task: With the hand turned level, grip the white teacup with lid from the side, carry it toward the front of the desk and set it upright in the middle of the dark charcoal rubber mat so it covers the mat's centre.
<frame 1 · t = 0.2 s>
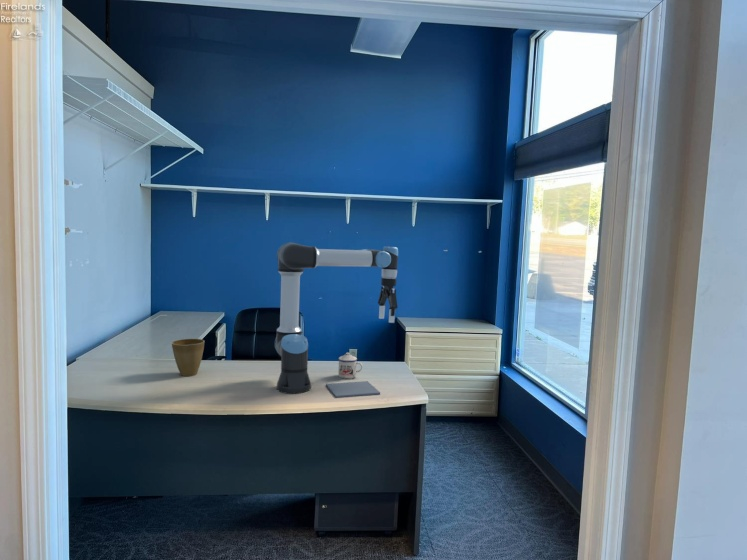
hand: (386, 320, 262), 27 cm above the table, tool pointing down, fingers open, 13 cm apart
charcoal mat: (352, 389, 237), on the table
plant pot: (188, 374, 254), on the table
teacup with lid: (350, 376, 258), on the table
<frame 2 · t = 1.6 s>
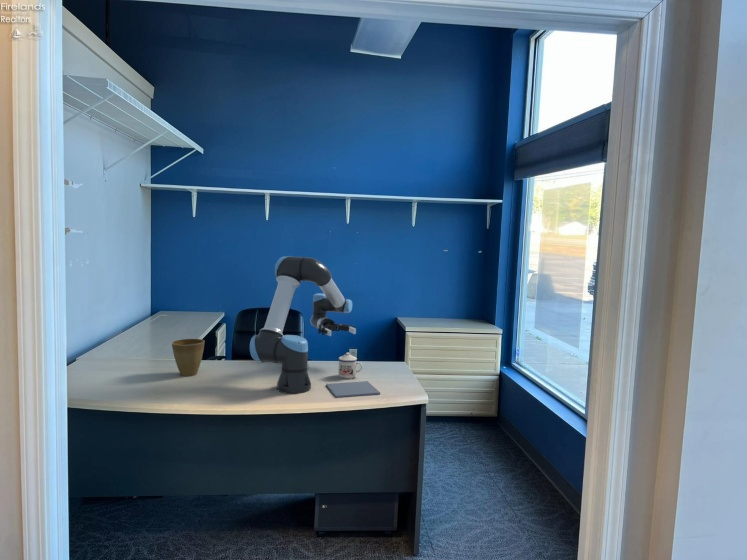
hand: (343, 332, 264), 20 cm above the table, tool horizontal, fingers open, 13 cm apart
nothing on the table moved.
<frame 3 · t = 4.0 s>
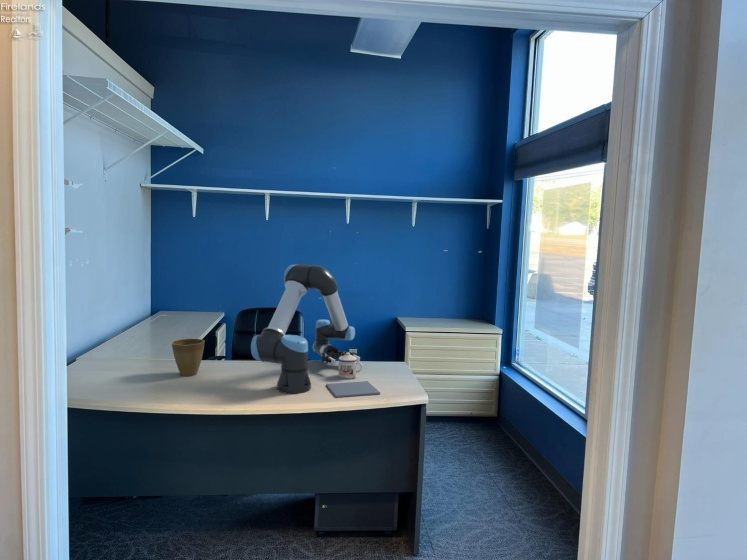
hand: (347, 361, 262), 6 cm above the table, tool horizontal, fingers open, 13 cm apart
nothing on the table moved.
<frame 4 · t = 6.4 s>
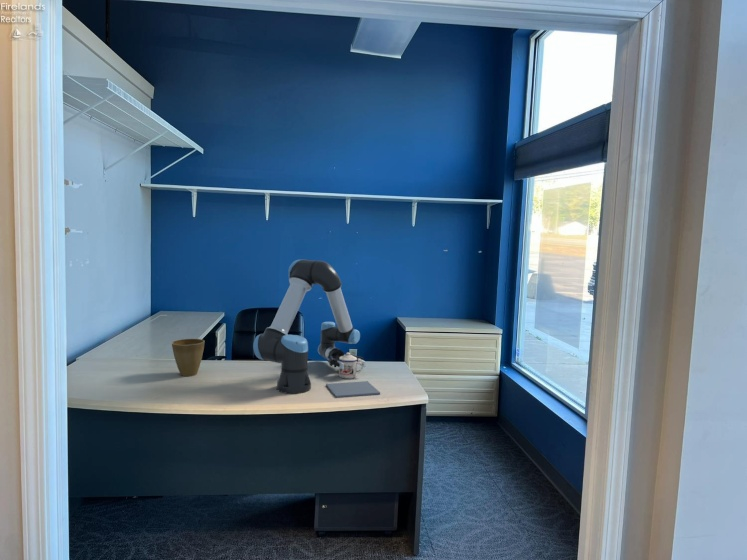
hand: (354, 365, 254), 7 cm above the table, tool horizontal, fingers closed on teacup with lid, 11 cm apart
teacup with lid: (350, 376, 258), on the table, touching gripper
everything else where it was.
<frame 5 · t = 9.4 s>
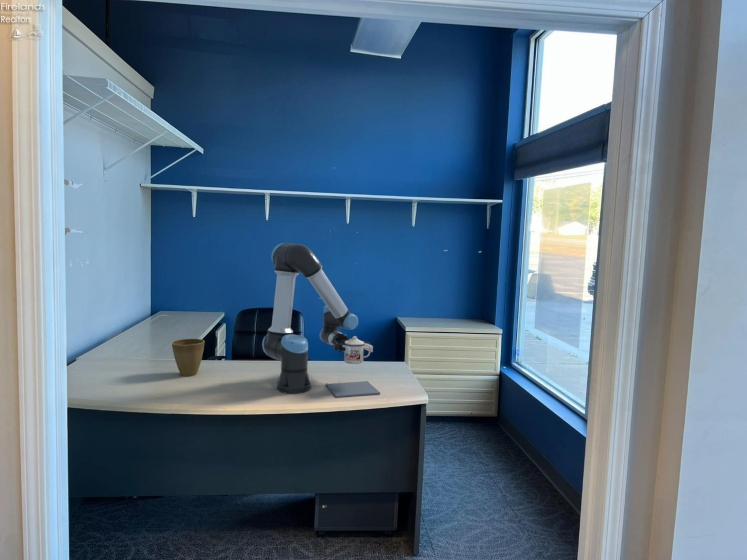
hand: (361, 350, 236), 18 cm above the table, tool horizontal, fingers closed on teacup with lid, 11 cm apart
teacup with lid: (356, 362, 240), point 11 cm above the table, touching gripper
everything else where it was.
when the fingers open (9 cm above the table, at t = 12.5 s): teacup with lid drops 1 cm, resting on charcoal mat.
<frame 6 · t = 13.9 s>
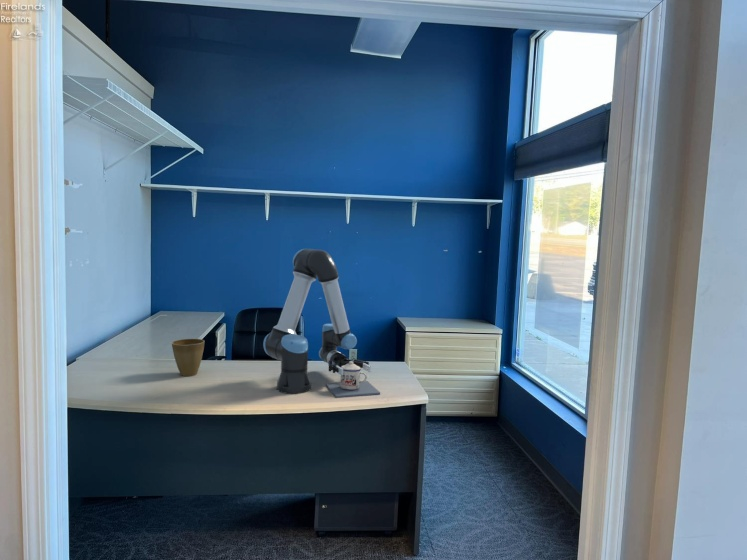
hand: (356, 370, 236), 9 cm above the table, tool horizontal, fingers open, 13 cm apart
teacup with lid: (352, 388, 237), point 1 cm above the table, touching charcoal mat, gripper
everything else where it was.
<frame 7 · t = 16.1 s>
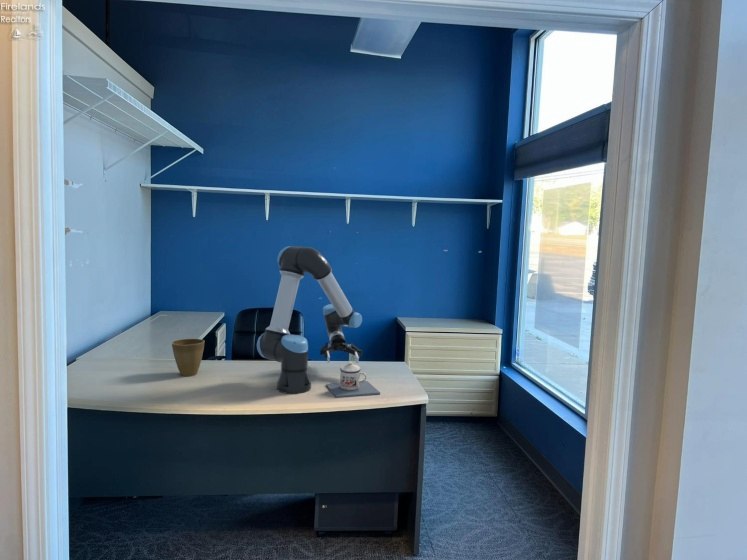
hand: (343, 360, 245), 11 cm above the table, tool horizontal, fingers open, 13 cm apart
teacup with lid: (352, 387, 237), point 1 cm above the table, touching charcoal mat
everything else where it was.
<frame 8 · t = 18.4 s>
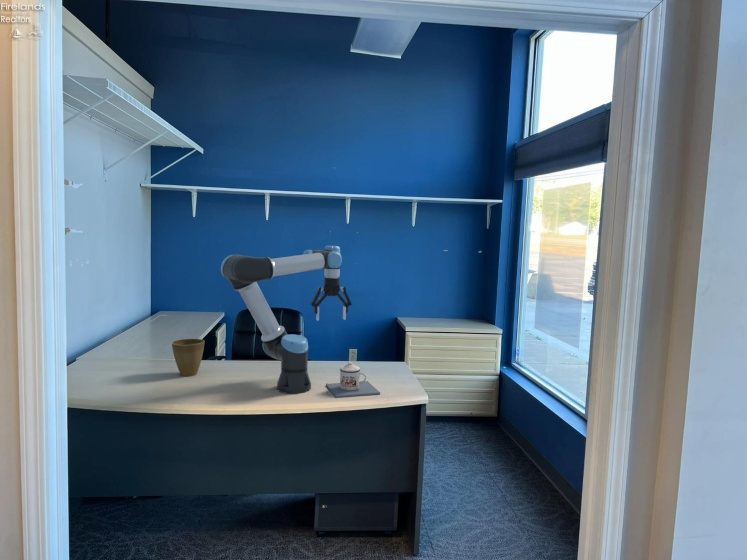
hand: (331, 319, 261), 27 cm above the table, tool pointing down, fingers open, 13 cm apart
nothing on the table moved.
at the end: teacup with lid inside the target area on the charcoal mat (0.1 cm from its centre), point 0.7 cm above the charcoal mat's base; teacup with lid tilted 1°; the gripper is holding nothing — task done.
